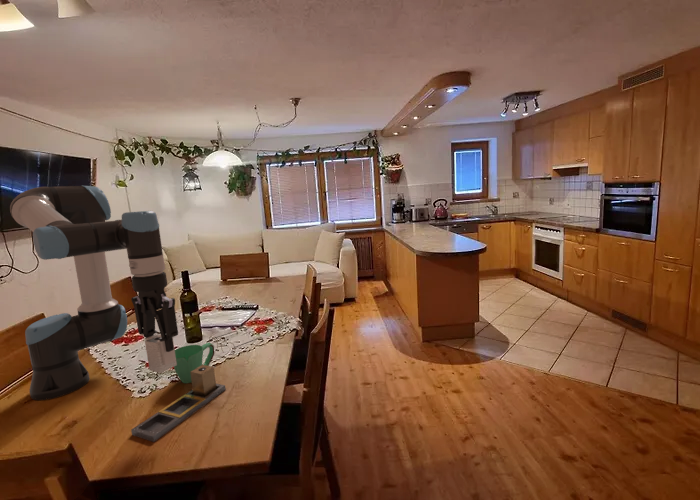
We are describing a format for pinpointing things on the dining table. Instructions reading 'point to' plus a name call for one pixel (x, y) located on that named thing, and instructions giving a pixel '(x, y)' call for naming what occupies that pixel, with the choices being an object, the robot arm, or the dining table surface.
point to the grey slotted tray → (173, 415)
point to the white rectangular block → (157, 355)
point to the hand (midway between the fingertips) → (162, 361)
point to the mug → (191, 360)
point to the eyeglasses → (230, 342)
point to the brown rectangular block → (203, 380)
